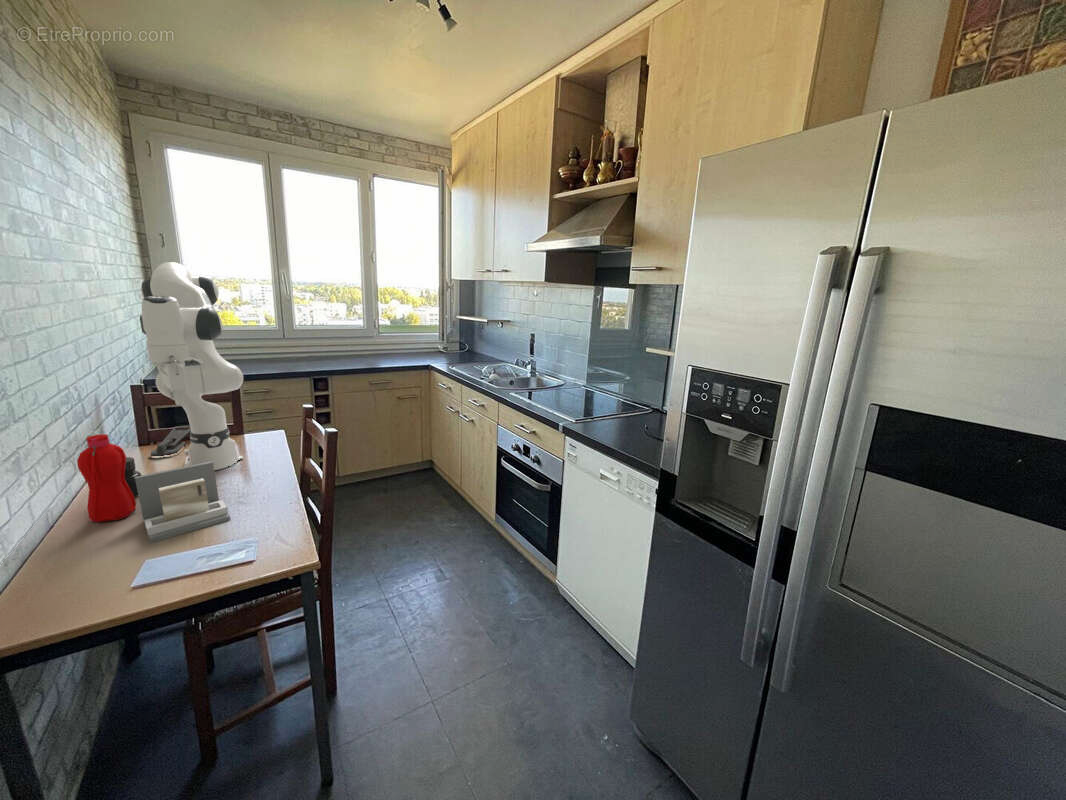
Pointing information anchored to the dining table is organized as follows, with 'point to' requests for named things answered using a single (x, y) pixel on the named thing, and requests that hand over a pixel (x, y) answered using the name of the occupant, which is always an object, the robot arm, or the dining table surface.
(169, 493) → the door panel
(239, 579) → the dining table surface
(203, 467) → the grey tablet stand
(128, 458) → the ink bottle
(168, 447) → the dark grey phone stand
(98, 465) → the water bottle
